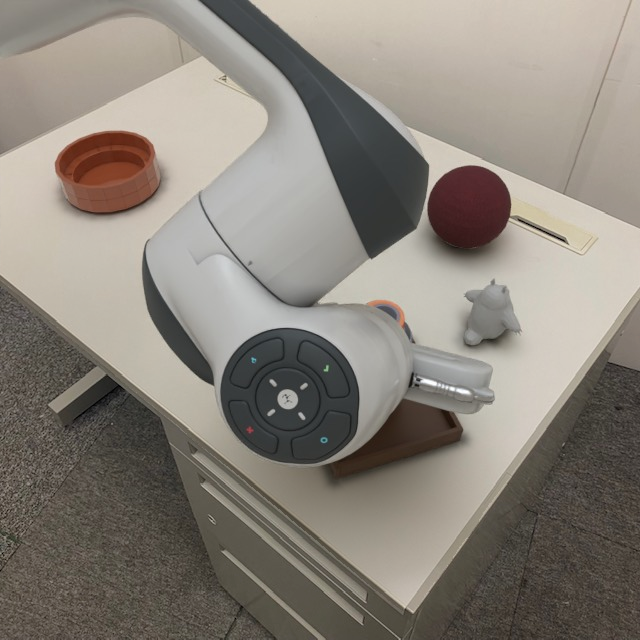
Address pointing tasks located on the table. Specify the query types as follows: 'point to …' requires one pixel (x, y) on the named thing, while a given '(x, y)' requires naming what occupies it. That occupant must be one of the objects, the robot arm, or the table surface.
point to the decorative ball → (469, 206)
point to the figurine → (490, 313)
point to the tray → (402, 437)
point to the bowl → (108, 171)
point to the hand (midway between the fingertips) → (379, 348)
